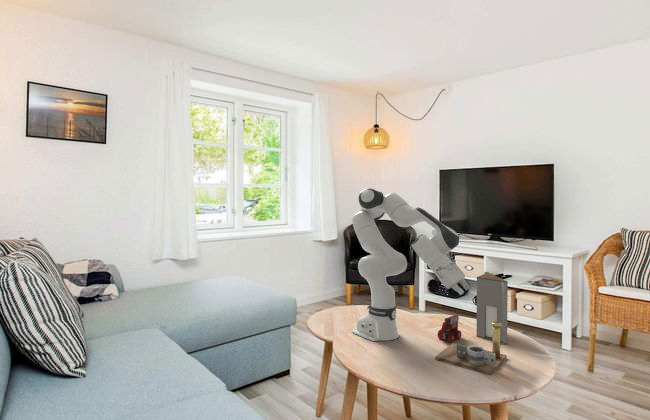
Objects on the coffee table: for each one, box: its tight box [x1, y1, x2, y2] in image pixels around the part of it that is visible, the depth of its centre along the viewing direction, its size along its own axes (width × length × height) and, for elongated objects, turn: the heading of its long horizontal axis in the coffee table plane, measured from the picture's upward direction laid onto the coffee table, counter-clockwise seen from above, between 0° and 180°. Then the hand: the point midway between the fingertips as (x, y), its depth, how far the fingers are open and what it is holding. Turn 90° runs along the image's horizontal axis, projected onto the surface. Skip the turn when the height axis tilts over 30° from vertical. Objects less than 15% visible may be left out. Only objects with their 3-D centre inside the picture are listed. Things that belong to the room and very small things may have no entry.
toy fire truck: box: [437, 314, 462, 343], centre depth 181 cm, size 7×12×10 cm, turn 128°
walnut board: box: [434, 342, 508, 376], centre depth 159 cm, size 22×19×1 cm
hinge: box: [457, 345, 496, 367], centre depth 153 cm, size 15×6×5 cm, turn 50°
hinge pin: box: [491, 321, 502, 359], centre depth 157 cm, size 4×4×14 cm
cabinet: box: [476, 271, 509, 345], centre depth 183 cm, size 21×10×28 cm, turn 0°
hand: (465, 291), depth 164 cm, fingers open, 8 cm apart
